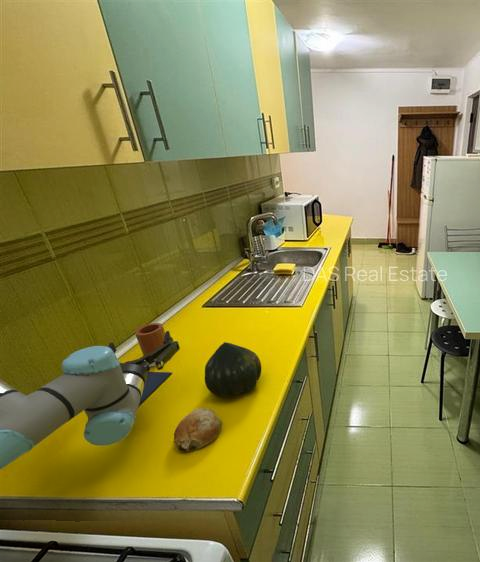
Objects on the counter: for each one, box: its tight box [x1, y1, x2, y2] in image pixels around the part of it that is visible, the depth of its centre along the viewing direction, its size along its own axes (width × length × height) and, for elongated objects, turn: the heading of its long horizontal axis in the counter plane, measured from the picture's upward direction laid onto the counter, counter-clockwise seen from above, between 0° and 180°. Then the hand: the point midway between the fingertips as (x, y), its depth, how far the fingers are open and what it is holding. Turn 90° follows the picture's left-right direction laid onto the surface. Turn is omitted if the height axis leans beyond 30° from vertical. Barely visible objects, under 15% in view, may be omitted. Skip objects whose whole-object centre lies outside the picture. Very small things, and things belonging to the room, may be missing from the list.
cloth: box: [138, 371, 173, 408], centre depth 90 cm, size 19×14×1 cm
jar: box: [134, 322, 173, 361], centre depth 101 cm, size 7×7×12 cm
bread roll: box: [173, 407, 223, 452], centre depth 74 cm, size 10×10×8 cm
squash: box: [204, 341, 263, 398], centre depth 88 cm, size 14×15×15 cm
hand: (141, 340), depth 90 cm, fingers open, 13 cm apart
